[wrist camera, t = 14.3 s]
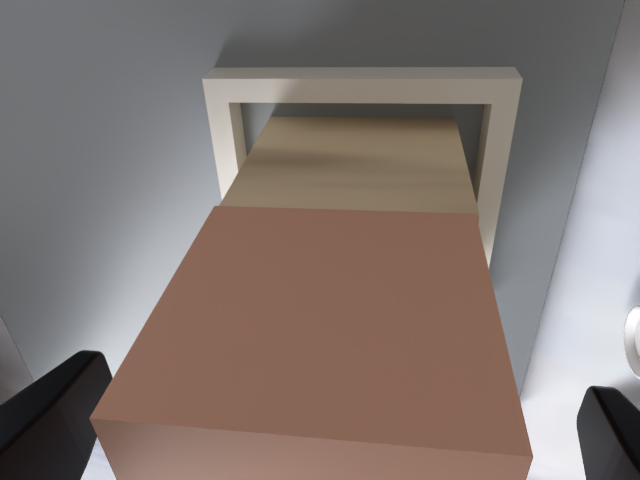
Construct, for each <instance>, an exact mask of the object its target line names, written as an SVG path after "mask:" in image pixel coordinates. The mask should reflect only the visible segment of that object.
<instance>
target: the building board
mask: <svg viewBox="0 0 640 480" xmlns="http://www.w3.org/2000/svg"><path fill="white" fill-rule="evenodd" d="M624 2H625V0H0V315H1V317H2V319H3V321H4V323H5V325H6V327H7V329H8V331H9V333H10V335H11V337H12V339H13V341H14V343H15V345H16V347H17V349H18V351H19V353H20V355H21V357H22V359H23V361H24V363H25V365H26V367H27V369H28V371H29V373H30V375H31V377H32V379H33V381H34V382H35V381H36V380H38V379H39V378H41V377H42V376H43V375H45V374H46V373H48V372H49V371H51V370H52V369H54V368H55V367H57V366H58V365H59V364H61V363H62V362H64V361H65V360H67V359H68V358H70V357H71V356H73V355H74V354H75V353H77V352H79V351H82V350H91V351H100V352H102V353H103V354H104V356H105V358H106V361H107V363H108V366H109V369H110V371H111V374H112V376H113V377H114V376H115V374H116V372H117V370H118V369H119V367H120V365H121V364H122V362H123V360H124V359H125V357H126V355H127V353H128V352H129V350H130V348H131V347H132V345H133V343H134V342H135V340H136V338H137V336H138V335H139V333H140V331H141V330H142V328H143V326H144V325H145V323H146V321H147V319H148V318H149V316H150V314H151V313H152V311H153V309H154V308H155V306H156V304H157V302H158V301H159V299H160V297H161V296H162V294H163V292H164V291H165V289H166V287H167V285H168V284H169V282H170V280H171V279H172V277H173V275H174V274H175V272H176V270H177V268H178V267H179V265H180V263H181V262H182V260H183V258H184V257H185V255H186V253H187V251H188V250H189V248H190V246H191V245H192V243H193V241H194V240H195V238H196V236H197V234H198V233H199V231H200V229H201V228H202V226H203V224H204V223H205V221H206V219H207V217H208V216H209V214H210V212H211V211H212V209H213V207H214V206H219V205H220V203H221V202H222V200H223V198H224V196H225V195H226V193H227V191H228V189H229V188H230V186H231V184H232V182H233V181H234V179H235V177H236V175H237V174H238V172H239V170H240V168H241V167H242V165H243V163H244V161H245V160H246V158H247V156H248V154H249V153H250V151H251V149H252V148H253V146H254V144H255V142H256V141H257V139H258V137H259V135H260V134H261V132H262V130H263V128H264V127H265V125H266V123H267V121H268V120H269V118H270V116H277V117H372V118H456V122H457V126H458V130H459V134H460V138H461V143H462V147H463V151H464V155H465V159H466V163H467V167H468V171H469V175H470V179H471V183H472V187H473V191H474V195H475V199H476V203H477V207H478V212H479V223H478V226H479V230H480V234H481V238H482V243H483V247H484V251H485V255H486V259H487V264H488V268H489V272H490V276H491V281H492V285H493V289H494V293H495V298H496V302H497V306H498V310H499V315H500V319H501V323H502V327H503V331H504V336H505V340H506V344H507V348H508V353H509V357H510V361H511V365H512V370H513V374H514V378H515V382H516V387H517V391H518V395H519V397H520V394H521V390H522V386H523V382H524V379H525V375H526V371H527V367H528V363H529V360H530V356H531V352H532V348H533V345H534V341H535V337H536V333H537V330H538V326H539V322H540V318H541V314H542V311H543V307H544V303H545V299H546V296H547V292H548V288H549V284H550V280H551V277H552V273H553V269H554V265H555V262H556V258H557V254H558V250H559V247H560V243H561V239H562V235H563V231H564V228H565V224H566V220H567V216H568V213H569V209H570V205H571V201H572V198H573V194H574V190H575V186H576V182H577V179H578V175H579V171H580V167H581V164H582V160H583V156H584V152H585V149H586V145H587V141H588V137H589V133H590V130H591V126H592V122H593V118H594V115H595V111H596V107H597V103H598V100H599V96H600V92H601V88H602V84H603V81H604V77H605V73H606V69H607V66H608V62H609V58H610V54H611V51H612V47H613V43H614V39H615V35H616V32H617V28H618V24H619V20H620V17H621V13H622V9H623V5H624Z"/></svg>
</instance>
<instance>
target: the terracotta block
mask: <svg viewBox="0 0 640 480" xmlns="http://www.w3.org/2000/svg"><path fill="white" fill-rule="evenodd" d="M89 419H90V421H91V423H92V425H93V428H94V430H95V432H96V434H97V437H98V439H99V441H100V443H101V446H102V448H103V450H104V452H105V455H106V457H107V459H108V461H109V464H110V466H111V468H112V470H113V472H114V475H115V477H116V479H117V480H526V478H527V475H528V472H529V468H530V465H531V462H532V459H533V454H532V450H531V446H530V442H529V437H528V433H527V429H526V425H525V420H524V416H523V412H522V408H521V404H520V399H519V395H518V391H517V387H516V382H515V378H514V374H513V370H512V365H511V361H510V357H509V353H508V348H507V344H506V340H505V336H504V331H503V327H502V323H501V319H500V315H499V310H498V306H497V302H496V298H495V293H494V289H493V285H492V281H491V276H490V272H489V268H488V264H487V259H486V255H485V251H484V247H483V243H482V238H481V234H480V230H479V226H478V221H477V217H476V214H467V213H434V212H402V211H369V210H336V209H304V208H271V207H238V206H214V207H213V209H212V211H211V212H210V214H209V216H208V217H207V219H206V221H205V223H204V224H203V226H202V228H201V229H200V231H199V233H198V234H197V236H196V238H195V240H194V241H193V243H192V245H191V246H190V248H189V250H188V251H187V253H186V255H185V257H184V258H183V260H182V262H181V263H180V265H179V267H178V268H177V270H176V272H175V274H174V275H173V277H172V279H171V280H170V282H169V284H168V285H167V287H166V289H165V291H164V292H163V294H162V296H161V297H160V299H159V301H158V302H157V304H156V306H155V308H154V309H153V311H152V313H151V314H150V316H149V318H148V319H147V321H146V323H145V325H144V326H143V328H142V330H141V331H140V333H139V335H138V336H137V338H136V340H135V342H134V343H133V345H132V347H131V348H130V350H129V352H128V353H127V355H126V357H125V359H124V360H123V362H122V364H121V365H120V367H119V369H118V370H117V372H116V374H115V376H114V377H113V379H112V381H111V382H110V384H109V386H108V387H107V389H106V391H105V393H104V394H103V396H102V398H101V399H100V401H99V403H98V404H97V406H96V408H95V410H94V411H93V413H92V415H91V416H90V418H89Z"/></svg>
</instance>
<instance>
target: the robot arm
mask: <svg viewBox="0 0 640 480" xmlns="http://www.w3.org/2000/svg"><path fill="white" fill-rule="evenodd" d="M112 379H113V376H112V374H111V371H110V369H109V366H108V363H107V361H106V358H105V356H104V354H103V353H102V352H100V351H91V350H82V351H79V352H77V353H75V354H74V355H73V356H71V357H70V358H68V359H67V360H65V361H64V362H62V363H61V364H59V365H58V366H57V367H55V368H54V369H52V370H51V371H49V372H48V373H46V374H45V375H43V376H42V377H41V378H39V379H38V380H36V381H35V382H33V383H32V384H30V385H29V386H28V387H26V388H25V389H23V390H22V391H20V392H19V393H17V394H16V395H14V396H13V397H12V398H10V399H9V400H7V401H6V402H4V403H3V404H1V405H0V480H80V479H81V477H82V475H83V473H84V470H85V468H86V466H87V463H88V461H89V458H90V455H91V453H92V450H93V447H94V444H95V441H96V438H97V434H96V432H95V430H94V428H93V425H92V423H91V421H90V419H89V418H90V416H91V415H92V413H93V411H94V410H95V408H96V406H97V404H98V403H99V401H100V399H101V398H102V396H103V394H104V393H105V391H106V389H107V387H108V386H109V384H110V382H111V381H112ZM577 431H578V437H579V442H580V448H581V453H582V459H583V464H584V470H585V475H586V480H640V411H639V410H638V409H637V408H636V407H635V406H634V405H633V404H632V403H631V402H630V401H629V400H628V399H627V398H626V397H625V396H624V395H623V394H622V393H621V392H620V391H618V390H617V389H615V388H613V387H604V386H590V387H589V388H588V389H587V391H586V393H585V396H584V399H583V402H582V404H581V407H580V410H579V412H578V415H577Z"/></svg>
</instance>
